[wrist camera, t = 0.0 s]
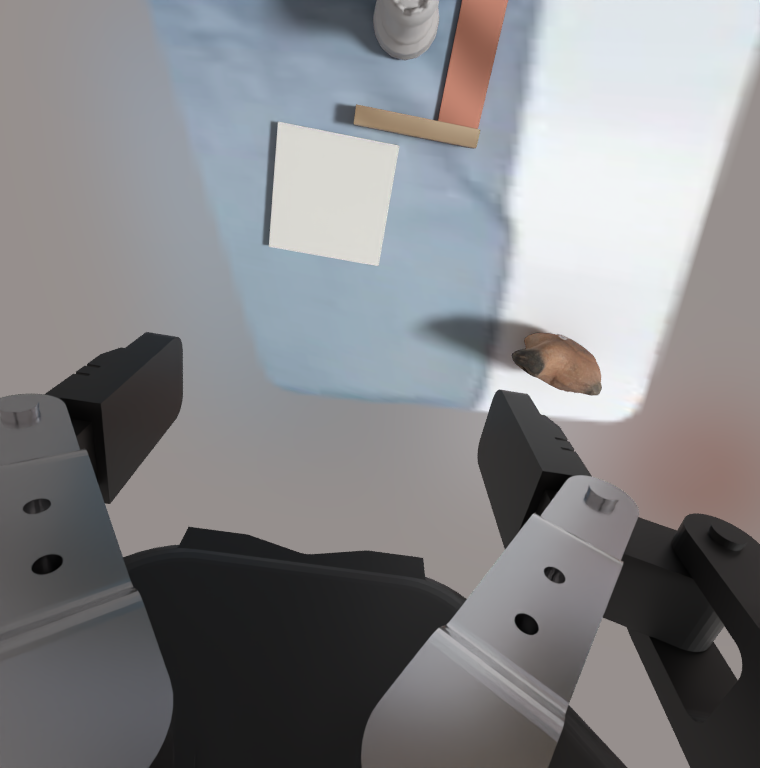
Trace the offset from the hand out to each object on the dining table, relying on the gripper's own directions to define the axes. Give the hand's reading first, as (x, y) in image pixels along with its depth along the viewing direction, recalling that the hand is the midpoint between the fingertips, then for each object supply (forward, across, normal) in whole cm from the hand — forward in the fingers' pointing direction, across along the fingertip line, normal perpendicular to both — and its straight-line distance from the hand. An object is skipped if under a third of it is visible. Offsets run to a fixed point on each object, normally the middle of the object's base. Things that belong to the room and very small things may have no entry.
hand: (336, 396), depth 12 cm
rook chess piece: (+30, 0, -14) cm, 33 cm away
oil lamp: (+30, -17, +7) cm, 35 cm away
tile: (+29, +3, -2) cm, 30 cm away
